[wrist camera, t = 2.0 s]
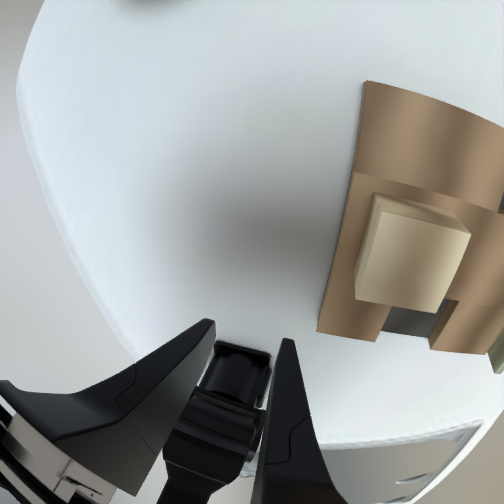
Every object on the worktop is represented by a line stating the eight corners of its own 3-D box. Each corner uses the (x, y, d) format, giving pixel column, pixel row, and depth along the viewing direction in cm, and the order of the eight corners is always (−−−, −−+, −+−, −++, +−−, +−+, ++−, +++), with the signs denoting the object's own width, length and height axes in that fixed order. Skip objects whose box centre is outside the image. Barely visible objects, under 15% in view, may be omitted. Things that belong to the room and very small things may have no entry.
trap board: (318, 316, 26) (312, 357, 21) (363, 82, 15) (373, 75, 11) (486, 342, 21) (497, 376, 17) (562, 166, 11) (595, 185, 7)
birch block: (354, 269, 20) (355, 299, 17) (373, 191, 17) (381, 211, 14) (425, 283, 19) (435, 313, 16) (452, 211, 16) (471, 234, 13)
